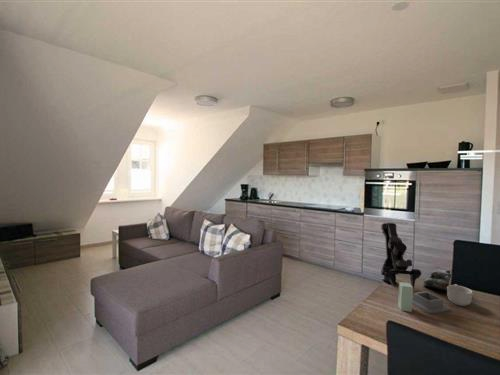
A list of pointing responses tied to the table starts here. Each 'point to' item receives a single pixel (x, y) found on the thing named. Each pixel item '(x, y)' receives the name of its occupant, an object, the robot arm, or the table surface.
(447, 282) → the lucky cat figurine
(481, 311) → the table surface
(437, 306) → the grey square socket base
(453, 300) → the teacup
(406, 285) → the sage block
